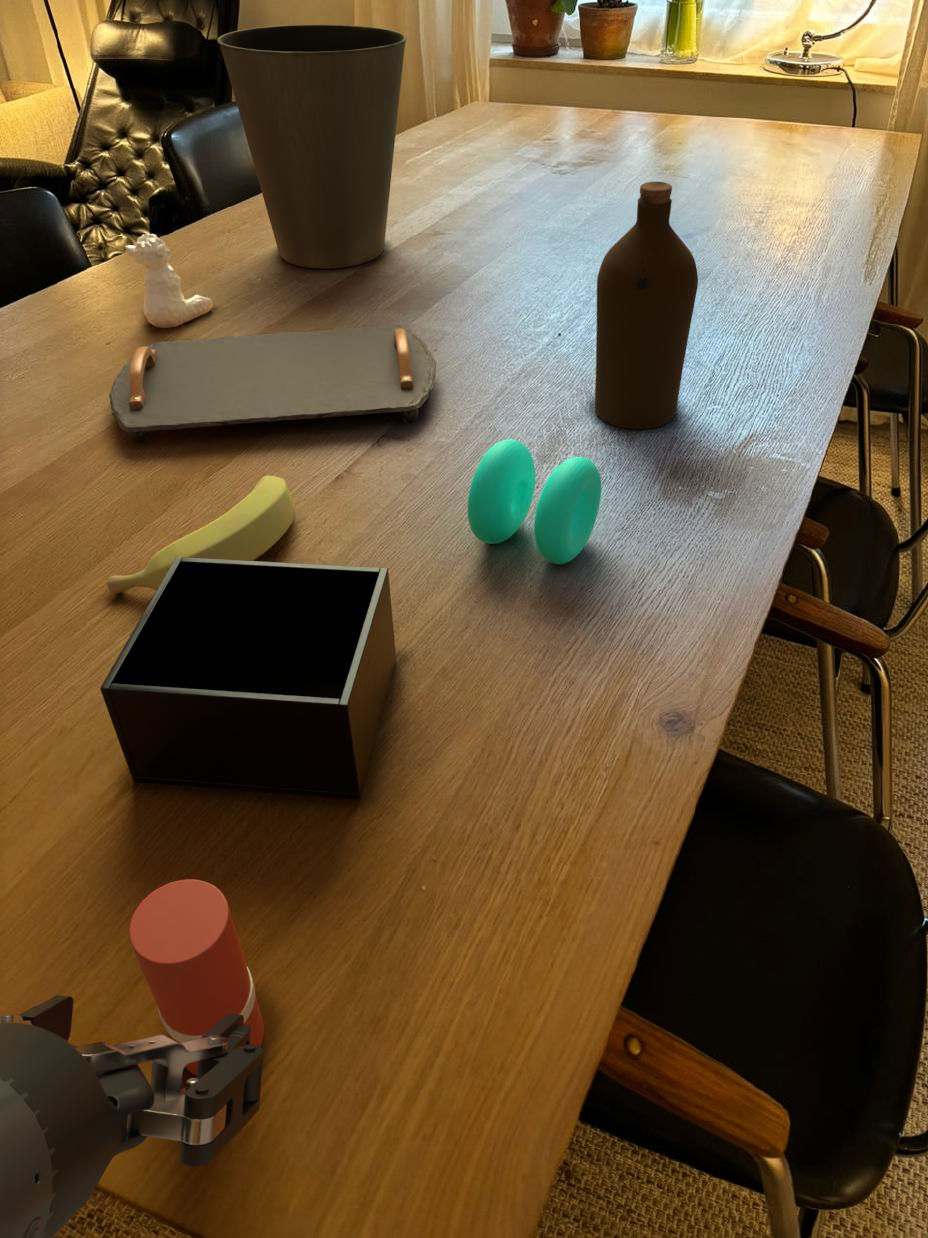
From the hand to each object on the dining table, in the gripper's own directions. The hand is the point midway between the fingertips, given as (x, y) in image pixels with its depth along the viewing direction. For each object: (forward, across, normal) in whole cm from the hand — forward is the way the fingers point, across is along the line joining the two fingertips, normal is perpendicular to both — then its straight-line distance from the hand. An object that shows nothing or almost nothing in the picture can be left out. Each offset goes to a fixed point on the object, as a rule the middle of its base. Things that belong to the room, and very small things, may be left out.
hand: (149, 1026), depth 47 cm
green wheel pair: (+47, -15, -32) cm, 59 cm away
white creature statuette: (+83, +39, -67) cm, 114 cm away
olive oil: (+67, -25, -52) cm, 88 cm away
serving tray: (+68, +18, -52) cm, 88 cm away
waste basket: (+102, +22, -87) cm, 136 cm away
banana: (+44, +16, -29) cm, 56 cm away
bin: (+30, +4, -14) cm, 33 cm away
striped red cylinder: (+11, 0, +4) cm, 12 cm away
